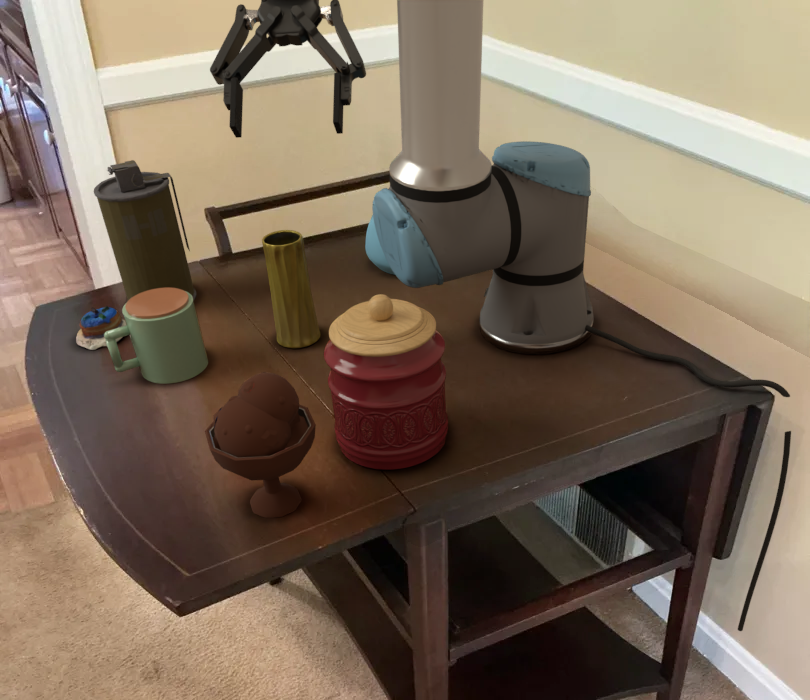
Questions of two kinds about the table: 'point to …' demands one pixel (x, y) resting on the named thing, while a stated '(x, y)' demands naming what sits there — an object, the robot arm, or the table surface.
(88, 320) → the dessert
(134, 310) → the mug
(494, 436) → the table surface
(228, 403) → the ice cream bowl
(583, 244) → the robot arm
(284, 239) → the vase
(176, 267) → the canister
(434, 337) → the kitchen canister
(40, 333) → the table surface
